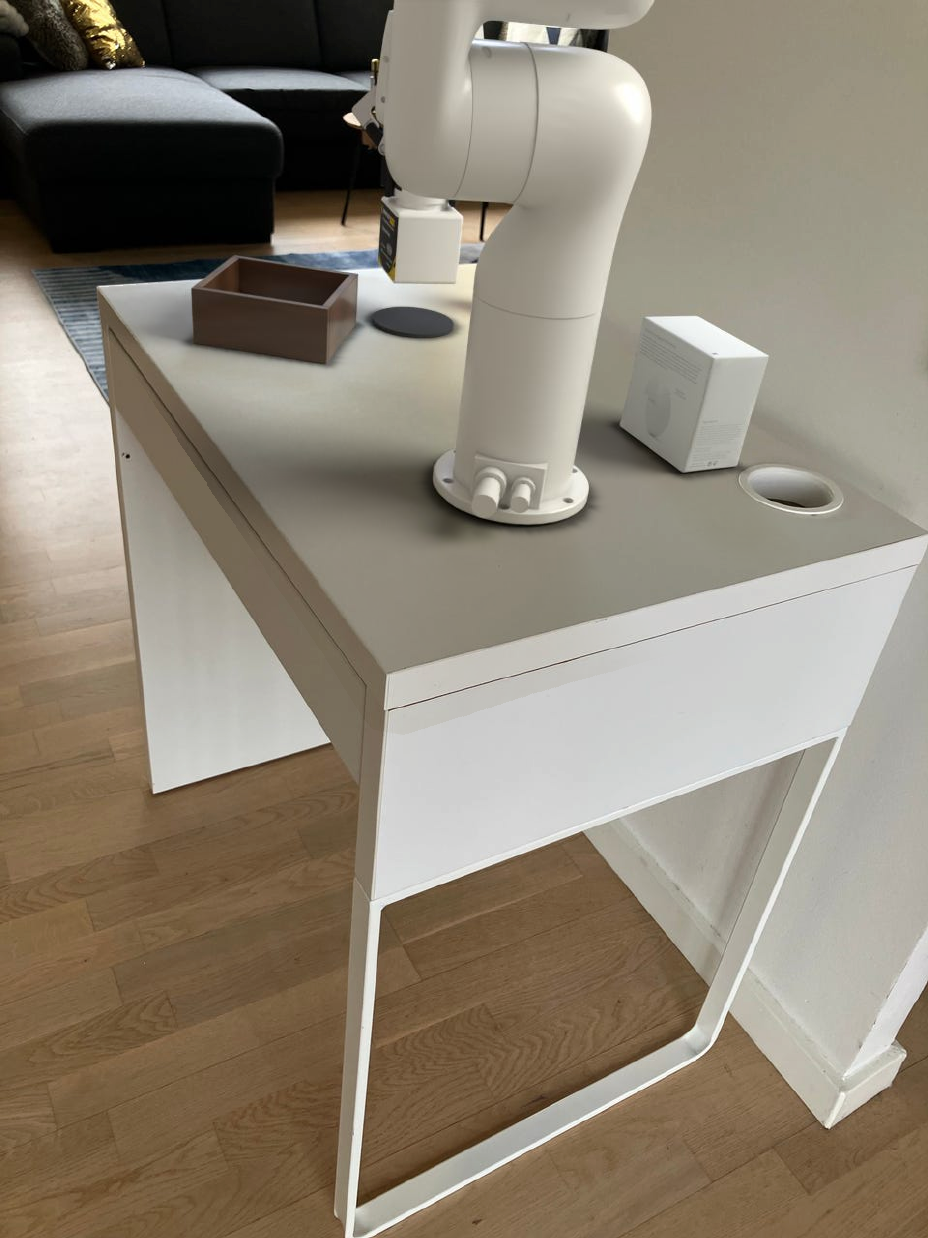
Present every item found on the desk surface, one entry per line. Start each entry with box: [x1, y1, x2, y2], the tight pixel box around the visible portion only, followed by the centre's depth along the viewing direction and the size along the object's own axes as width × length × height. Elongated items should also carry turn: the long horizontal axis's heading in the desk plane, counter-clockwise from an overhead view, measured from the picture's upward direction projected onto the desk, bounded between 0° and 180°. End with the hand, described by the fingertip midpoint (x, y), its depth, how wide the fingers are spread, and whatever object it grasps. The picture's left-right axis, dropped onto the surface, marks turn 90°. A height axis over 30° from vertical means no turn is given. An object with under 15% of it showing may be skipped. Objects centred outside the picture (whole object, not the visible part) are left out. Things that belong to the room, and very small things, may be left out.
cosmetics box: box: [619, 315, 770, 474], centre depth 91 cm, size 10×6×10 cm, turn 25°
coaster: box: [372, 306, 455, 339], centre depth 114 cm, size 9×9×1 cm
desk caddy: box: [190, 254, 359, 365], centre depth 106 cm, size 13×14×6 cm
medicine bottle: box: [377, 181, 464, 285], centre depth 108 cm, size 7×7×12 cm
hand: (422, 197), depth 107 cm, fingers closed on medicine bottle, 6 cm apart
